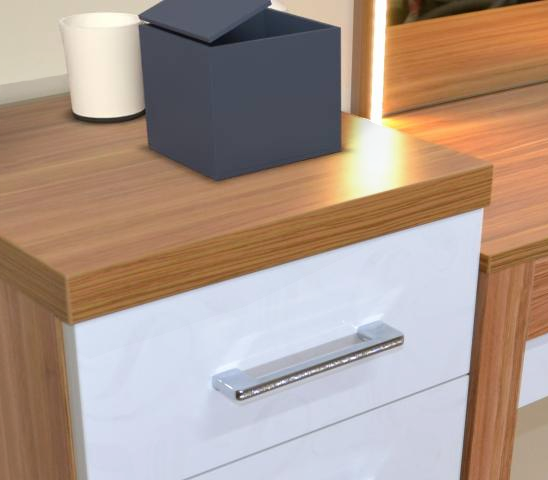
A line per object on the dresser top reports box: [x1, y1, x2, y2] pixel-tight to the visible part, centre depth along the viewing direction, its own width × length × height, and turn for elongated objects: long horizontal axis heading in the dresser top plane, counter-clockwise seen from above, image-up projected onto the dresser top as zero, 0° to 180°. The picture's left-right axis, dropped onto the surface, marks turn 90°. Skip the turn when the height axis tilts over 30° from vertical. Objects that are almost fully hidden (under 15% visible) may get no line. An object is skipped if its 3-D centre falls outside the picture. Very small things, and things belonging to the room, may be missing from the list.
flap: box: [137, 0, 272, 43], centre depth 109 cm, size 7×13×1 cm, turn 40°
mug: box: [58, 11, 149, 124], centre depth 127 cm, size 11×9×10 cm
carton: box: [138, 7, 342, 182], centre depth 115 cm, size 15×13×12 cm
